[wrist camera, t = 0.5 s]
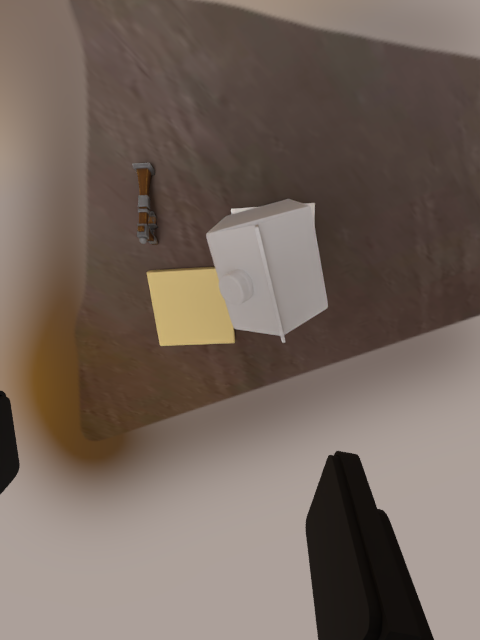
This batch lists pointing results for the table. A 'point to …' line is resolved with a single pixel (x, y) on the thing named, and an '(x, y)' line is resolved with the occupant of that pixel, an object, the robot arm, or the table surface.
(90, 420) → the table surface
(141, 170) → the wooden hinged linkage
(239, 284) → the milk carton
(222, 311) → the coaster
